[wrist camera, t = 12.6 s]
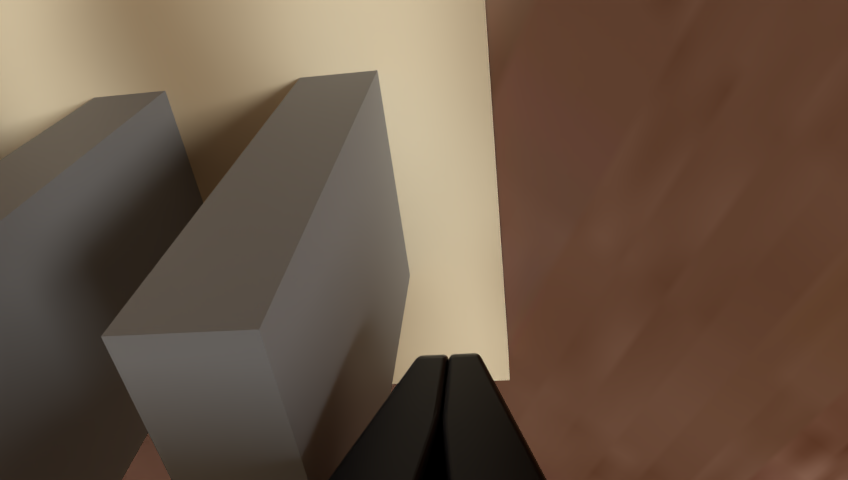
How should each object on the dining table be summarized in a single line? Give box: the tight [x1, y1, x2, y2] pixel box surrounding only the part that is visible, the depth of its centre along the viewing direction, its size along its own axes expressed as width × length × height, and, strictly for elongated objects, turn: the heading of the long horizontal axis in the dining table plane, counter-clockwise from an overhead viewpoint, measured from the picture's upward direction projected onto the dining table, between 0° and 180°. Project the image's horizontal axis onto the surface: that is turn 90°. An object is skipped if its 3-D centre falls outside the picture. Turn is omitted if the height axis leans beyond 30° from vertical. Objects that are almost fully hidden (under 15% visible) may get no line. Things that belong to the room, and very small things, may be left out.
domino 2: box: [101, 70, 410, 480], centre depth 11 cm, size 2×5×8 cm, turn 7°
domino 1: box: [0, 91, 203, 480], centre depth 11 cm, size 2×5×8 cm, turn 7°
